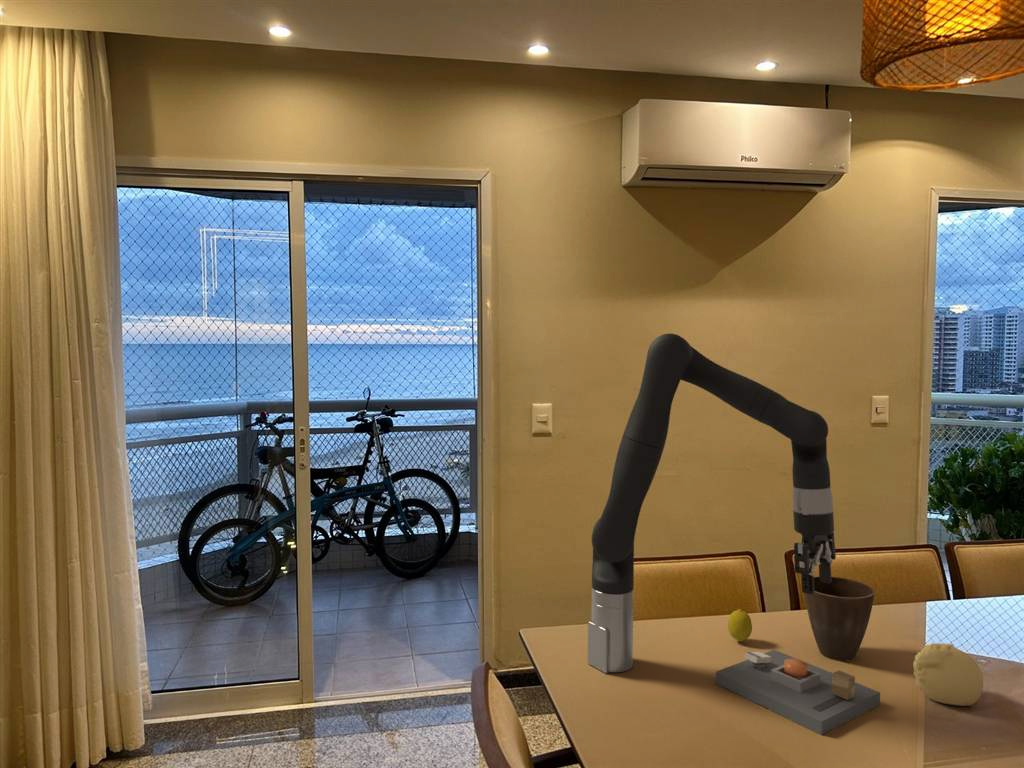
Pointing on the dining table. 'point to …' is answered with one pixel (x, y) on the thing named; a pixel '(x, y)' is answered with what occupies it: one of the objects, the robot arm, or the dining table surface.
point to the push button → (795, 668)
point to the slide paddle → (843, 685)
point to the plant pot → (839, 616)
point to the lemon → (739, 625)
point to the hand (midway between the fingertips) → (817, 587)
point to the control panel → (796, 692)
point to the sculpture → (948, 675)
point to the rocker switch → (757, 657)
